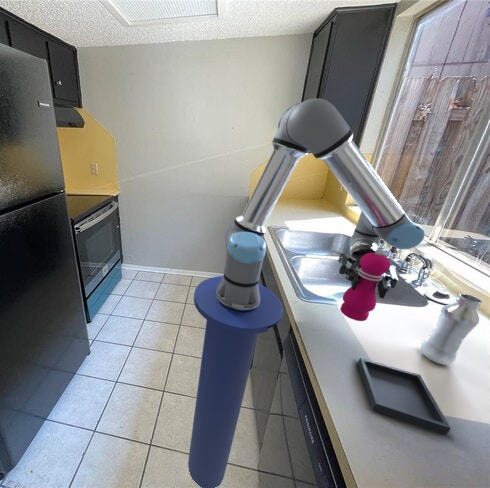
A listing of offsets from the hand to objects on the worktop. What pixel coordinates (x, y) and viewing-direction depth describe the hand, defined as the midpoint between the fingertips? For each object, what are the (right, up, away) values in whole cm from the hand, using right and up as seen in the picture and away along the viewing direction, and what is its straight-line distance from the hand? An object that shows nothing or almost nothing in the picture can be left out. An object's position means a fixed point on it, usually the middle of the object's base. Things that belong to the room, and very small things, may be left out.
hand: (369, 289), depth 63 cm
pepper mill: (+2, -9, +9) cm, 12 cm away
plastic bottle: (+24, -21, +8) cm, 33 cm away
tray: (+4, -24, -2) cm, 25 cm away
